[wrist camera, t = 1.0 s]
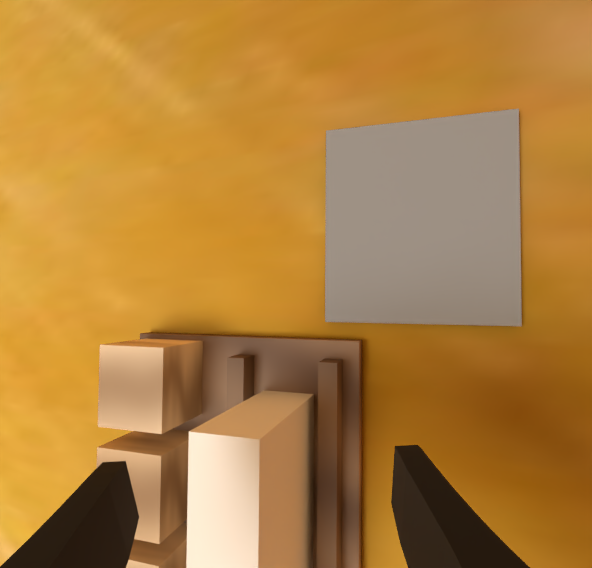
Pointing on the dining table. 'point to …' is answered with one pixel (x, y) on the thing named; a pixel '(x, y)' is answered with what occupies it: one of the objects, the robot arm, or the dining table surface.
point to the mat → (425, 222)
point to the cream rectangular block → (253, 485)
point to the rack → (327, 418)
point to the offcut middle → (154, 478)
